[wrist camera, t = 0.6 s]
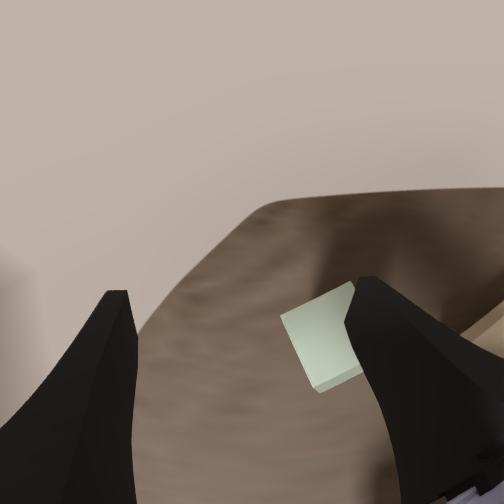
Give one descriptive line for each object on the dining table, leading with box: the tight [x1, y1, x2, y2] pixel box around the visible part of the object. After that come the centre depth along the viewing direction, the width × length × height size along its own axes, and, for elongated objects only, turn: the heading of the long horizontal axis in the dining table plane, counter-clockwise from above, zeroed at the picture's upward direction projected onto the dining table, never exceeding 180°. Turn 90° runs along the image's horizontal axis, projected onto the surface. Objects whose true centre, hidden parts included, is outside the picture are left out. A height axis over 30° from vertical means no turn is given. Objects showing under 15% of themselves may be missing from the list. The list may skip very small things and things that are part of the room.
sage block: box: [280, 281, 364, 393], centre depth 21 cm, size 4×4×10 cm
